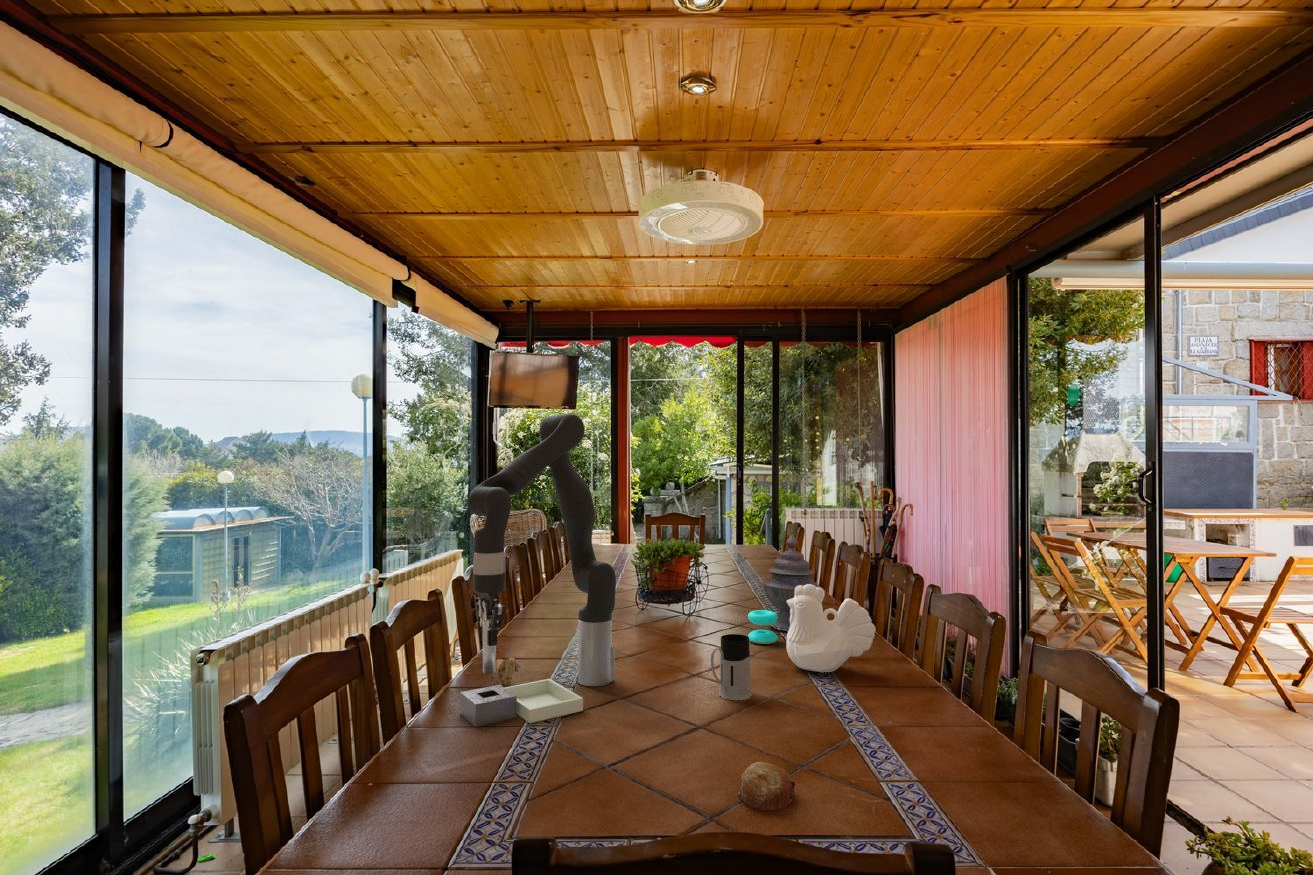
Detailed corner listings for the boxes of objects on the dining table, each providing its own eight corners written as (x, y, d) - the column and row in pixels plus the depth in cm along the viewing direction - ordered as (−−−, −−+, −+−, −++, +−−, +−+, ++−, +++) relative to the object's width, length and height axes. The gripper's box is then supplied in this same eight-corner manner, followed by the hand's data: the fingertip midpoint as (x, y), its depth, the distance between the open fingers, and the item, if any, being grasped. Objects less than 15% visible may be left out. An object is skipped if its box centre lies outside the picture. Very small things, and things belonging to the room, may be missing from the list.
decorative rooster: (780, 673, 201) (780, 587, 202) (793, 659, 216) (793, 578, 217) (870, 685, 191) (869, 594, 192) (877, 669, 205) (877, 585, 206)
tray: (549, 693, 183) (549, 678, 183) (582, 714, 168) (583, 697, 169) (498, 704, 175) (498, 688, 175) (529, 727, 160) (529, 709, 160)
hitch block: (499, 708, 172) (499, 684, 172) (516, 721, 164) (516, 695, 164) (460, 717, 166) (460, 692, 166) (475, 731, 158) (475, 704, 158)
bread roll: (743, 804, 132) (725, 766, 132) (791, 779, 133) (773, 741, 133) (755, 832, 123) (736, 791, 122) (806, 805, 123) (787, 764, 123)
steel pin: (492, 668, 167) (492, 610, 168) (497, 672, 165) (497, 612, 165) (480, 671, 166) (480, 612, 166) (485, 674, 163) (485, 614, 164)
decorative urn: (760, 632, 246) (765, 532, 249) (761, 622, 266) (765, 530, 269) (819, 637, 243) (823, 536, 246) (815, 628, 262) (819, 534, 266)
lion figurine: (523, 692, 184) (523, 658, 185) (504, 696, 181) (504, 661, 181) (500, 678, 196) (500, 646, 196) (482, 681, 193) (482, 649, 193)
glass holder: (758, 694, 183) (758, 637, 184) (725, 709, 173) (725, 647, 173) (731, 687, 189) (731, 631, 190) (698, 700, 179) (698, 641, 179)
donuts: (779, 610, 240) (775, 616, 230) (779, 639, 239) (775, 647, 230) (750, 608, 243) (745, 614, 233) (750, 637, 242) (745, 644, 233)
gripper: (516, 573, 162) (516, 647, 162) (492, 565, 174) (492, 635, 173) (485, 576, 158) (485, 653, 158) (463, 568, 169) (463, 639, 169)
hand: (489, 643), depth 166 cm, fingers closed on steel pin, 3 cm apart
